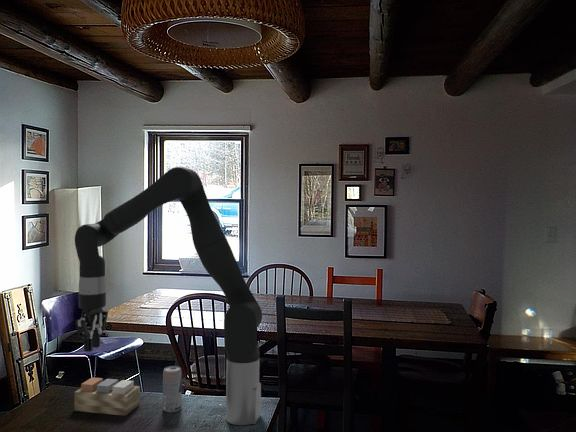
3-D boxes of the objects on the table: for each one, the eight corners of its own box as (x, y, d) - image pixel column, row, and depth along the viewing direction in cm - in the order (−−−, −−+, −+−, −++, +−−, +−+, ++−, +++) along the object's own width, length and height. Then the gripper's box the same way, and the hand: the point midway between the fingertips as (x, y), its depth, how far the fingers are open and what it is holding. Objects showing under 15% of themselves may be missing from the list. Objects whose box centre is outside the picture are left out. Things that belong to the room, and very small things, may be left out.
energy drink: (182, 405, 151) (183, 365, 151) (179, 412, 146) (179, 371, 145) (164, 405, 151) (165, 365, 151) (161, 412, 146) (161, 371, 145)
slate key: (118, 389, 151) (118, 379, 151) (108, 396, 146) (108, 386, 146) (107, 388, 152) (107, 378, 152) (96, 395, 146) (96, 385, 146)
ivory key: (133, 390, 150) (133, 380, 150) (124, 397, 145) (124, 387, 145) (122, 389, 151) (122, 379, 151) (112, 396, 145) (112, 386, 145)
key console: (139, 404, 151) (139, 386, 151) (125, 415, 143) (126, 396, 143) (90, 399, 154) (90, 382, 154) (74, 410, 146) (74, 392, 146)
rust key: (102, 388, 152) (102, 378, 152) (92, 395, 147) (92, 384, 146) (92, 387, 153) (92, 377, 153) (81, 394, 147) (81, 383, 147)
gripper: (90, 296, 141) (90, 357, 142) (116, 287, 155) (116, 343, 156) (66, 295, 142) (66, 355, 143) (94, 286, 156) (94, 341, 157)
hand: (92, 348), depth 149 cm, fingers open, 3 cm apart
